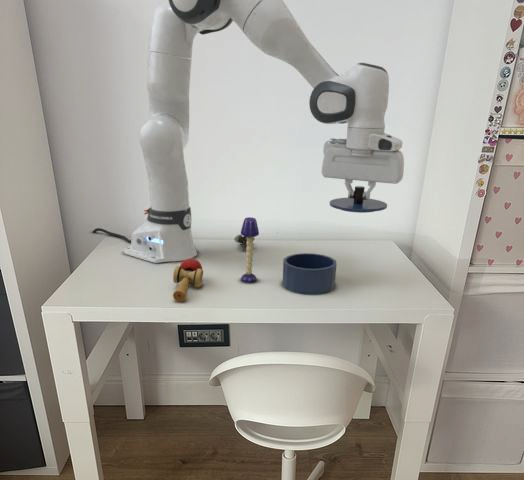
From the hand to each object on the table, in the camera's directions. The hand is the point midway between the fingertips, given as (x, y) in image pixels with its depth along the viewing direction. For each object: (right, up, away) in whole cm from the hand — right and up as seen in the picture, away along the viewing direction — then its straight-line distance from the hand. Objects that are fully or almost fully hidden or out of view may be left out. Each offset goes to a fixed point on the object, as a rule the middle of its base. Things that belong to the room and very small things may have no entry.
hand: (358, 198), depth 127 cm
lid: (0, -2, +1) cm, 2 cm away
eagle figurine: (-29, -6, +33) cm, 45 cm away
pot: (-12, -22, +4) cm, 25 cm away
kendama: (-44, -23, 0) cm, 50 cm away
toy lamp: (-28, -20, +6) cm, 35 cm away
